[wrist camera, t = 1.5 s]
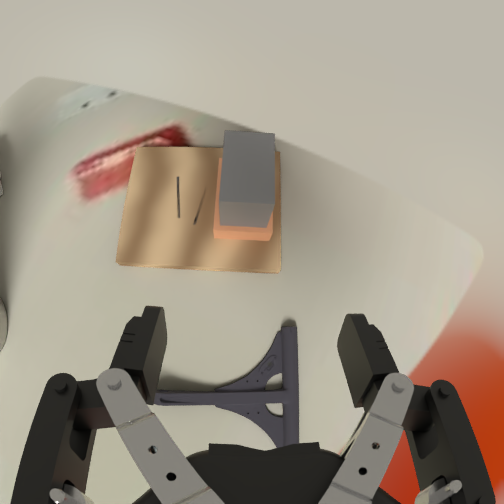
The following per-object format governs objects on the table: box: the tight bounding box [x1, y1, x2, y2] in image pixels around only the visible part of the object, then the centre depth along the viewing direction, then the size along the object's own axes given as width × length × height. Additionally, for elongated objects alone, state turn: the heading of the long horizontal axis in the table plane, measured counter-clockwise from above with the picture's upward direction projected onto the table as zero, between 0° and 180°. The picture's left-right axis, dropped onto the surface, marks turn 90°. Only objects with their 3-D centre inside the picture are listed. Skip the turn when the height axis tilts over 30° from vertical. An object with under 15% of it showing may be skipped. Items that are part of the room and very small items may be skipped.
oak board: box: [116, 147, 281, 273], centre depth 33 cm, size 17×14×2 cm
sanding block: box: [213, 130, 275, 241], centre depth 29 cm, size 6×8×8 cm
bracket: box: [154, 327, 299, 448], centre depth 28 cm, size 14×15×3 cm
